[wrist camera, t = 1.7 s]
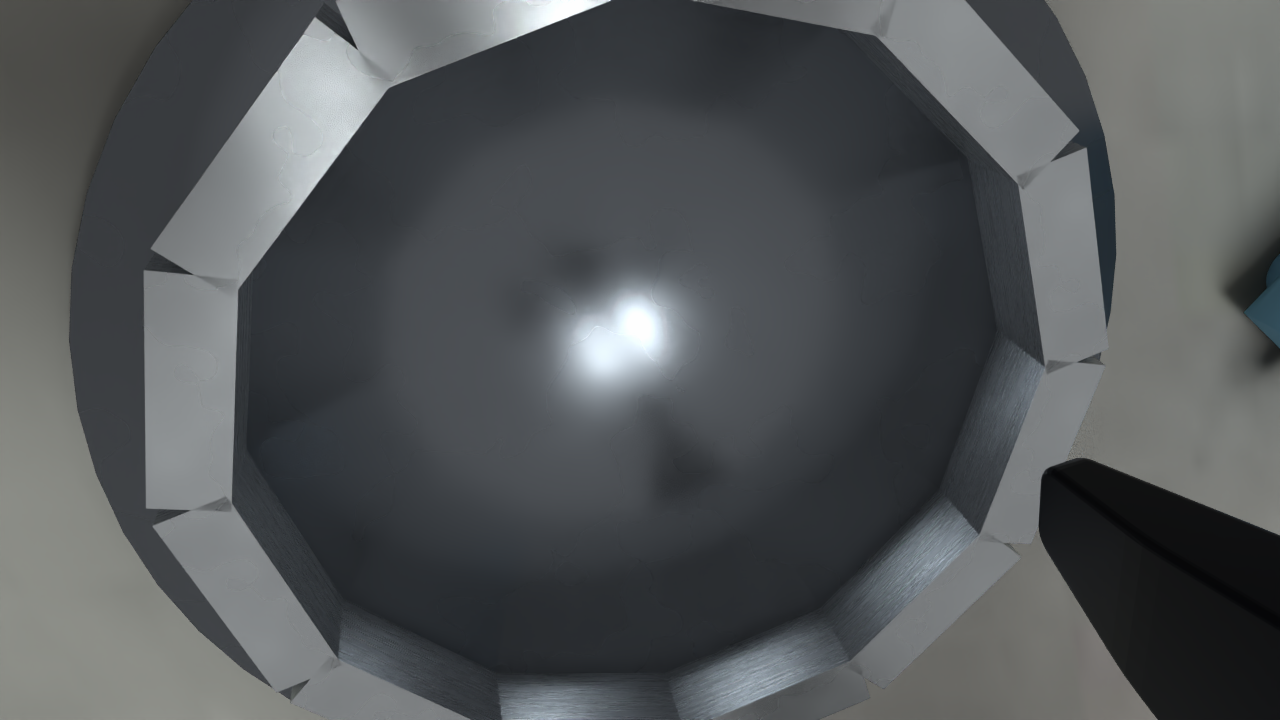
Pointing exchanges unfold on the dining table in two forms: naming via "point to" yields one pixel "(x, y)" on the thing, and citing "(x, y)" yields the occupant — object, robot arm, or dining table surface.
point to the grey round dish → (590, 341)
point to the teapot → (1268, 305)
